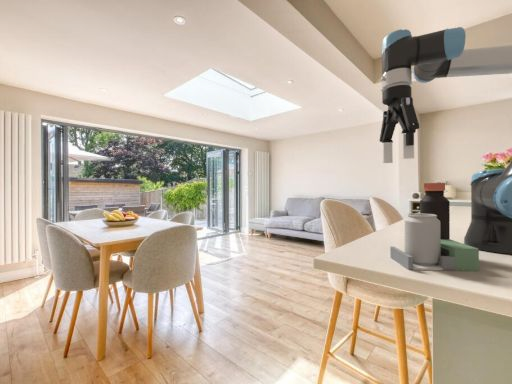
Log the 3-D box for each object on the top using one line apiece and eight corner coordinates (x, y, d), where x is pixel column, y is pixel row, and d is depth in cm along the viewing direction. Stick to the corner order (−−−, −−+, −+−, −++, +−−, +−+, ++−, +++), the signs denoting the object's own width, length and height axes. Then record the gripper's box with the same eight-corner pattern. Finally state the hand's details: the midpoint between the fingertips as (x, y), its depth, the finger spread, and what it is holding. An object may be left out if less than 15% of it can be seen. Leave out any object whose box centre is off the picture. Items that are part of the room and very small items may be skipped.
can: (447, 267, 59) (446, 215, 59) (411, 265, 61) (411, 215, 60) (431, 258, 66) (431, 212, 66) (400, 257, 68) (400, 212, 68)
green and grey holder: (449, 258, 68) (449, 239, 67) (478, 270, 58) (478, 248, 57) (390, 257, 69) (390, 239, 69) (408, 269, 59) (408, 248, 59)
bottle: (455, 257, 68) (455, 182, 68) (430, 257, 69) (430, 183, 68) (438, 250, 75) (438, 182, 75) (415, 250, 75) (414, 183, 75)
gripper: (369, 102, 88) (369, 164, 88) (402, 70, 63) (403, 156, 63) (391, 101, 87) (392, 163, 87) (435, 68, 62) (435, 155, 63)
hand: (396, 161), depth 75 cm, fingers open, 13 cm apart
